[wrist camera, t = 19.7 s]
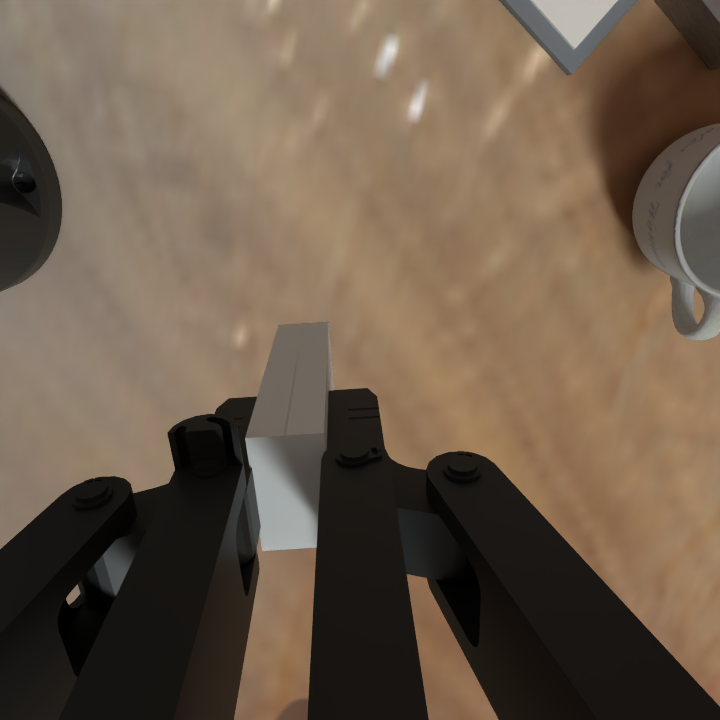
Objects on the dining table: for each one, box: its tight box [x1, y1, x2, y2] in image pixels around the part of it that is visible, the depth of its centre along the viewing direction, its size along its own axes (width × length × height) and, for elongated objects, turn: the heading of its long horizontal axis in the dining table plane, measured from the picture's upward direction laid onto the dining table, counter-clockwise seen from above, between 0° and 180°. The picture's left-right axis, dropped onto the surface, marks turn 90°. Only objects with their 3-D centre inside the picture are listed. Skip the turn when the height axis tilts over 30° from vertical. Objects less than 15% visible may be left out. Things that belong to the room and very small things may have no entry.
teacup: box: [632, 123, 720, 340], centre depth 37 cm, size 14×11×8 cm
